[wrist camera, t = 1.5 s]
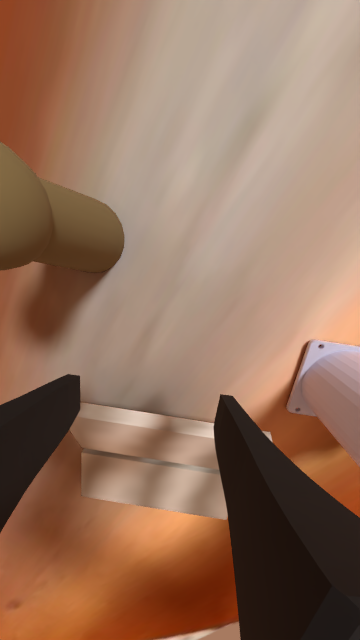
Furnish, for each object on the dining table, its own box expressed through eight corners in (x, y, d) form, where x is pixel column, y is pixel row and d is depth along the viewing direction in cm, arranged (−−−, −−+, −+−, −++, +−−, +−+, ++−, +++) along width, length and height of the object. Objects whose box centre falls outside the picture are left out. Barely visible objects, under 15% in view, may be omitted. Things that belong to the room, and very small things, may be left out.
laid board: (237, 463, 23) (240, 474, 22) (224, 508, 25) (226, 520, 24) (86, 439, 23) (81, 448, 22) (86, 485, 25) (81, 496, 24)
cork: (138, 243, 17) (52, 207, 6) (89, 286, 18) (-51, 315, 8) (90, 181, 16) (-111, 9, 5) (42, 230, 17) (-201, 172, 6)
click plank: (270, 432, 17) (273, 447, 16) (239, 460, 23) (240, 473, 22) (66, 399, 17) (58, 413, 16) (86, 436, 23) (81, 447, 22)
